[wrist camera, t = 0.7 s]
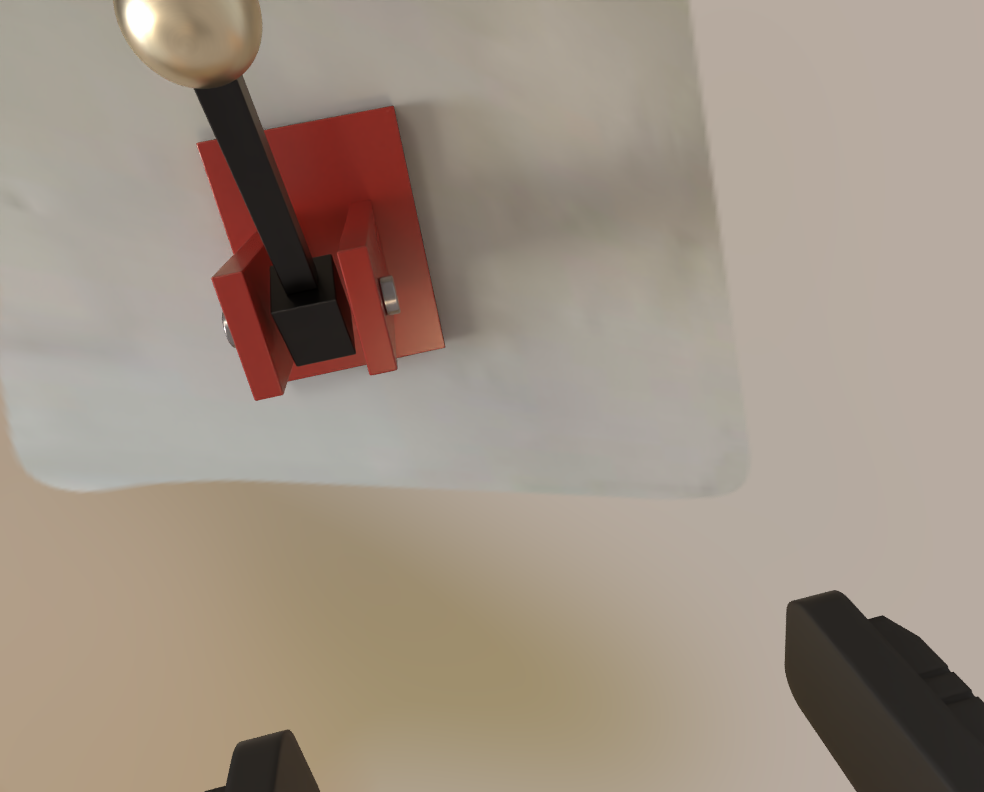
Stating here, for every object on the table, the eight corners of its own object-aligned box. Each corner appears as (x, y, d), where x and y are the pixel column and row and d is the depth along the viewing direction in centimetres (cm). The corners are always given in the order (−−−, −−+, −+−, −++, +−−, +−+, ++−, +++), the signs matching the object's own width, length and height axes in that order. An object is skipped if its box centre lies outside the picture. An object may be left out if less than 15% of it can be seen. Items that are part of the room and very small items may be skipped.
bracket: (202, 141, 31) (94, 164, 19) (393, 105, 31) (401, 106, 20) (280, 375, 36) (233, 505, 24) (443, 340, 36) (473, 450, 25)
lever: (94, -77, 15) (71, -22, 13) (233, -100, 15) (230, -50, 14) (281, 316, 26) (282, 378, 24) (362, 299, 26) (371, 359, 24)
